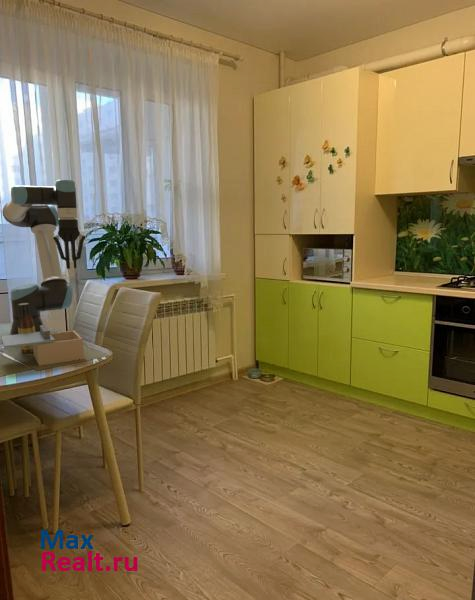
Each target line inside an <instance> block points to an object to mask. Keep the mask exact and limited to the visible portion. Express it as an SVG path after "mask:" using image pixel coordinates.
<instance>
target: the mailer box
mask: <svg viewBox="0 0 475 600" xmlns="http://www.w3.org/2000/svg"><path fill="white" fill-rule="evenodd" d="M50 334H51V335H52V337H53V338H54V339H55V342H50V343H42V344H34V345H33V352H32V353H33V357H34V359H35V361H36V362H37V364H38V366H39V367H40V366H46V365H47V366H48V365H54V364H59V363H66V362H72V361H73V360H74V361H80V360H84V359H85V355H84V354H85V353H84V340H83V337H82V336H80V334H78V332H76V330H74V329H73V330H67V331H65V330H64V331H59V332H58V331H57V332H51V333H50ZM79 359H80V360H79Z"/></svg>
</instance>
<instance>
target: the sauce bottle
mask: <svg viewBox="0 0 475 600" xmlns="http://www.w3.org/2000/svg"><path fill="white" fill-rule="evenodd" d="M18 308H19V315H20V316H19V321H18V332H19V334H25V333H33V332H35V325H34V320H33V318H32V316H31V315H30V312H29V303H21V304H18ZM19 348H20V350H21V352H22V353H23V354H31V353H34V352H33V345H27V346H19Z"/></svg>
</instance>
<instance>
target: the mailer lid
mask: <svg viewBox="0 0 475 600" xmlns="http://www.w3.org/2000/svg"><path fill="white" fill-rule="evenodd" d="M39 326H40V332H33V333H25V334H16V335H10V334H9V335H2V336H0V338H1V342H2V345H3V348H4V349H11V348H17V347H19V348H20V346H27V345H34V344H42V343H50V342H55V339H54V338H53V337H52V335H51V334H50V331H51V330H50V329H49V328H48V327H47V326H46V324H44V325H39Z"/></svg>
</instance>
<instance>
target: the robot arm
mask: <svg viewBox="0 0 475 600" xmlns="http://www.w3.org/2000/svg"><path fill="white" fill-rule="evenodd" d="M54 185H55V186H51V185H49V186H48V185H47V186H41V185H38V186H37V185H22V184H21V185H13V186H12V187H11V188H10V189H11V190H10V197H11V198H10V199H11V201H8V202H7V203H6V204H4V206H3V207H2V216H3V218H4V220H5V221H6V222H7V223H9V224H11V225H12V226H16V227H19V228H30V231H31V233H33V234H34V236H35V241H36V247H37V252H38V257H39V263H40V270H41V273H42V281H41V282H40V286H39V285H38V283H30V284H29V283H28V284H22V285H19V286H15V287H14V288H12V289H11V291H10V302H11V310H12V313H11V314H12V324H11V327H10V331H9V335H16V334H19V332H18V321H19V316H20V315H19V308H18V304H21V303H29V312H30V315H31V316H32V318H33V320H34V325H35V332H40V326H39V325H45V324H44V322H43V320H42V317H41V312H49V311H56V310H57V311H58V310H60V311H61V310H64V309H68V308H70V307H71V305H72V304H73V303H72V302H73V296H74V295H73V287H72V285H71V283H67V279H65V277H63V274H62V268H61V264H60V259H61V260H62V261H63V260H64V261H65V267H66V269H69V271H68V273H69V277H70V278H73V277H74V278H75V269H77V260H79V259H81V257H82V250H83V246H84V241H85V240H86V238H87V237H86V236H85V235H83V234H82V233H81V232H80V230H79V220H78V207H77V206H78V205H77V192H76V191H77V188H76V183H75V181H74V180H73V179H57V180H56V181H55V184H54ZM55 206H56V207H57V208H56V207H55ZM57 227H58V232H57V234H56V235H55V232H56V230H57ZM60 239H61V240H62V241H63V244H64V252H63V247H62V245H61V242H60ZM77 239H78V245H77V250H76V240H77ZM69 245H70V247H69ZM70 249H71V250H70ZM70 251H71V258H70ZM59 256H60V258H59ZM70 259H71V260H70Z"/></svg>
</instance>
